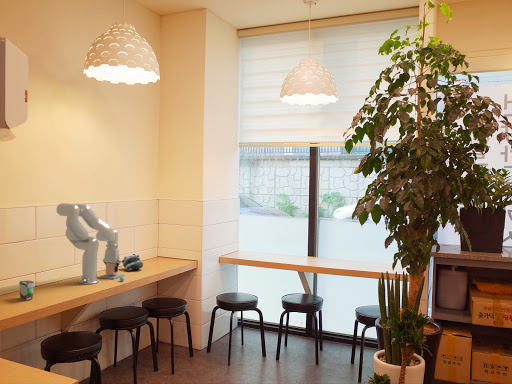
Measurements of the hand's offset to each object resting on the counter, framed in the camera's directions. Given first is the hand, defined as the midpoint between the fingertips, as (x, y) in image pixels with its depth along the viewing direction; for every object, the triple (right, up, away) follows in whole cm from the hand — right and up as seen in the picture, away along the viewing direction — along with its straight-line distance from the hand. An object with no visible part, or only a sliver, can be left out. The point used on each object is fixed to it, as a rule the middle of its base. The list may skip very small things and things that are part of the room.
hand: (112, 271), depth 341 cm
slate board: (0, -4, 0) cm, 4 cm away
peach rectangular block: (0, -2, 0) cm, 2 cm away
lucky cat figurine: (+8, -4, +26) cm, 27 cm away
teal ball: (+11, -5, -12) cm, 17 cm away
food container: (-31, -6, -61) cm, 69 cm away
